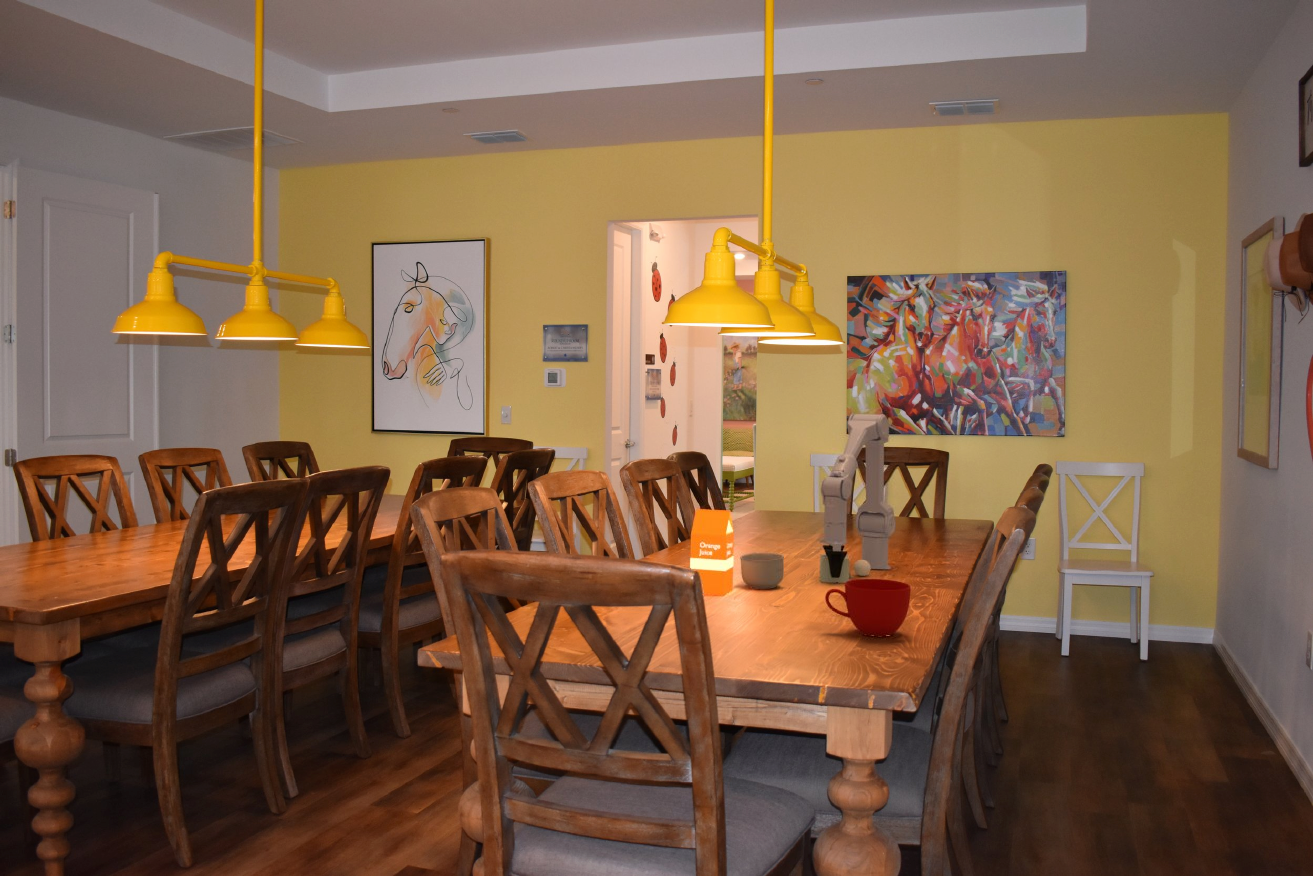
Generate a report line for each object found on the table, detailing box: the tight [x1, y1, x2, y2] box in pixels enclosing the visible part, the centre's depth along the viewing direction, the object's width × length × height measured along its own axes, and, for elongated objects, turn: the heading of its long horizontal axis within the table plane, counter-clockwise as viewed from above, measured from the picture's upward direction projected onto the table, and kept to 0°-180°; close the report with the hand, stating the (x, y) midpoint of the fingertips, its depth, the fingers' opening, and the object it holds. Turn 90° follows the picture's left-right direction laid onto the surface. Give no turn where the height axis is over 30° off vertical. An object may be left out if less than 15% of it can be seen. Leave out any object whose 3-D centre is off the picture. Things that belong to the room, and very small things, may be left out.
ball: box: [853, 559, 872, 577], centre depth 275 cm, size 4×4×4 cm
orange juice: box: [689, 508, 735, 597], centre depth 250 cm, size 8×9×20 cm
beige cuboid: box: [819, 554, 850, 584], centre depth 268 cm, size 7×6×6 cm
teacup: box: [739, 552, 785, 590], centre depth 259 cm, size 14×11×8 cm
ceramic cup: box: [824, 578, 912, 636], centre depth 208 cm, size 13×17×10 cm
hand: (834, 575), depth 268 cm, fingers open, 7 cm apart
